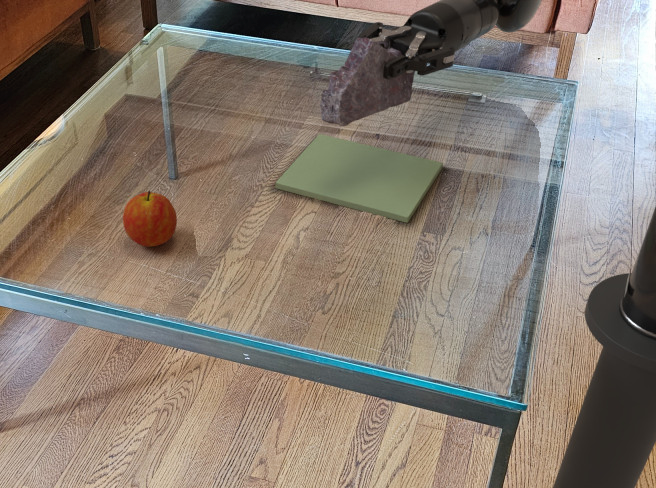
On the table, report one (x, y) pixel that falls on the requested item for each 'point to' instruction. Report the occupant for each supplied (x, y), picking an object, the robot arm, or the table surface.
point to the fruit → (149, 219)
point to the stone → (364, 85)
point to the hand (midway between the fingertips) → (369, 65)
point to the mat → (361, 177)
